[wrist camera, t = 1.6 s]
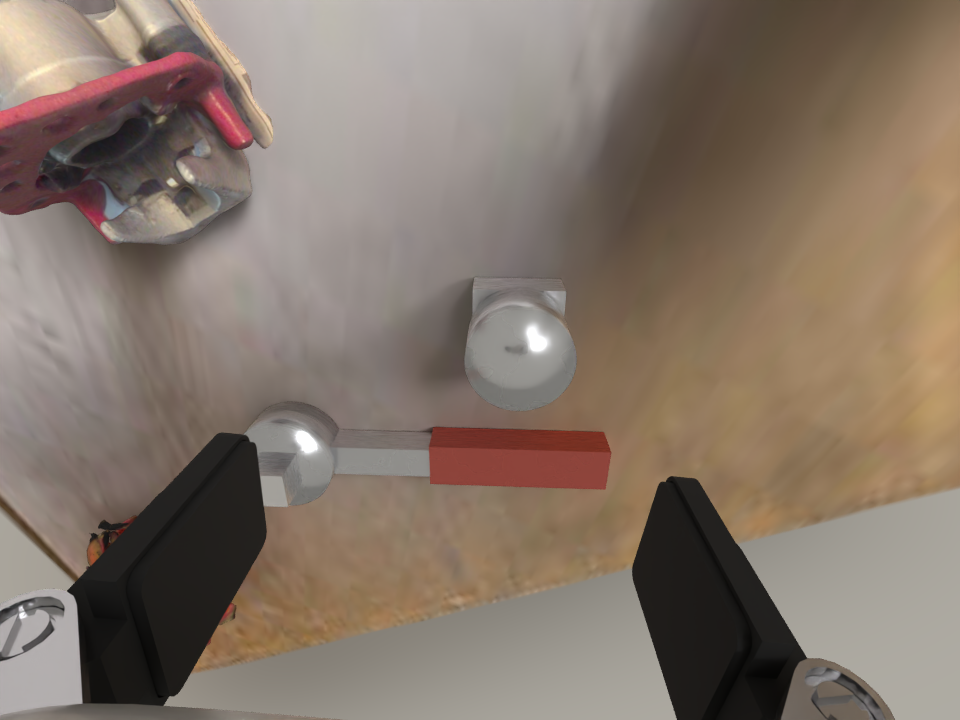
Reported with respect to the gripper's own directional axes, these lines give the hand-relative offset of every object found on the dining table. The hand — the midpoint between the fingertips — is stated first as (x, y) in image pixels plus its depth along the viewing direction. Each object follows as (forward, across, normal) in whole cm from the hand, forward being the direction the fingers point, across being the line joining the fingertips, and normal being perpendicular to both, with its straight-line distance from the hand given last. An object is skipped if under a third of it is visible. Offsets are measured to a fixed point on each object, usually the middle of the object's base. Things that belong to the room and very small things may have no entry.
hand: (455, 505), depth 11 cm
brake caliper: (+18, +16, -7) cm, 25 cm away
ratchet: (+17, +2, +11) cm, 21 cm away
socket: (+17, -2, +1) cm, 18 cm away
